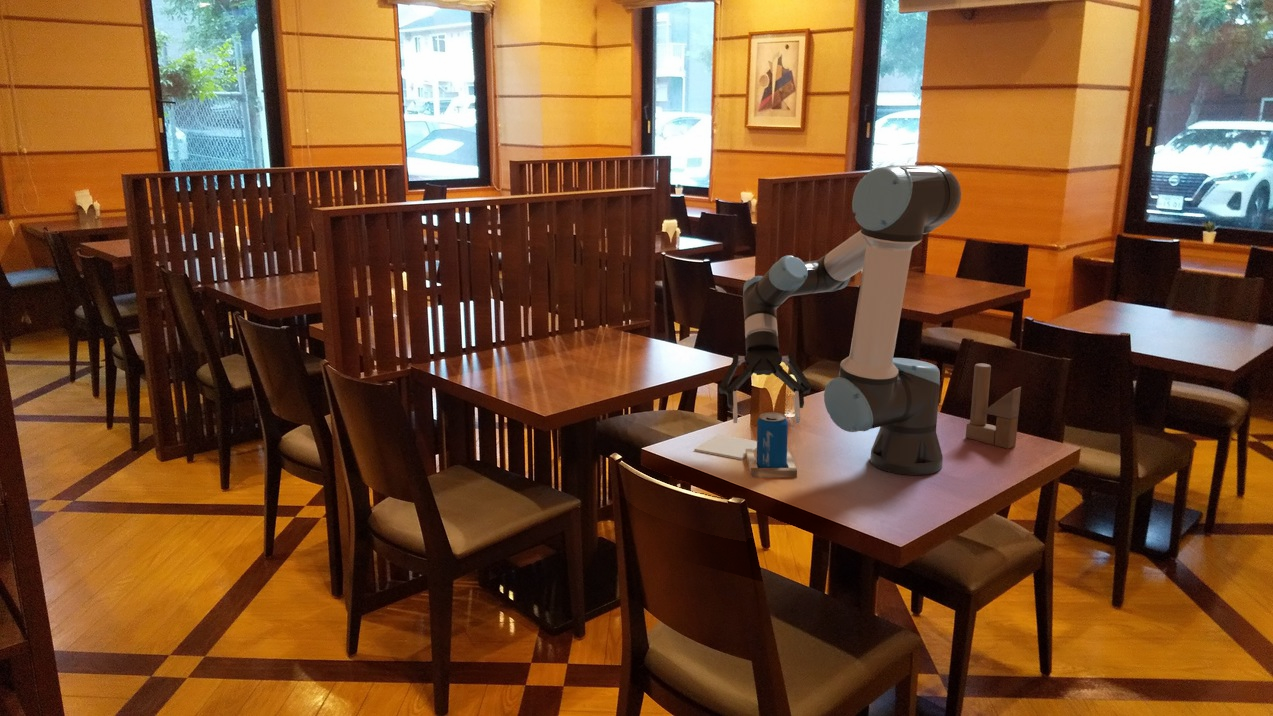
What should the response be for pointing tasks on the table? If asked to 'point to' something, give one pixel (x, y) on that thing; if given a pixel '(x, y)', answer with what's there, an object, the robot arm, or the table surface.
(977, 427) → the wooden block
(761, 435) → the beverage can
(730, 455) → the mat
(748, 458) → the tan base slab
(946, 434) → the table surface
